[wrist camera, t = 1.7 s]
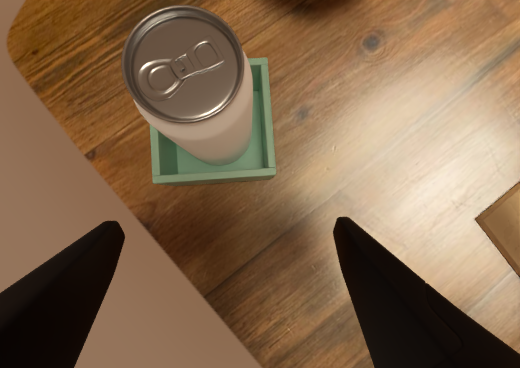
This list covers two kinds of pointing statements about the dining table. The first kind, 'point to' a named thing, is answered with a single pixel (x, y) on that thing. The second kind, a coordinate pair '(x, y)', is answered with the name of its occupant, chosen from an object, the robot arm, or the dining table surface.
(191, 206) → the dining table surface
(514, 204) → the board
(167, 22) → the can
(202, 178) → the tote
